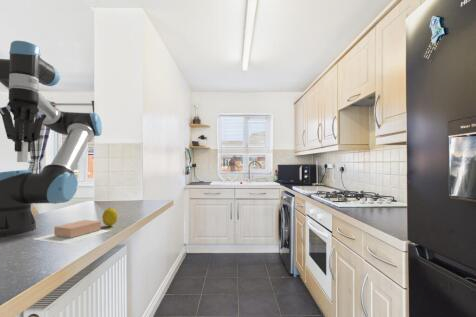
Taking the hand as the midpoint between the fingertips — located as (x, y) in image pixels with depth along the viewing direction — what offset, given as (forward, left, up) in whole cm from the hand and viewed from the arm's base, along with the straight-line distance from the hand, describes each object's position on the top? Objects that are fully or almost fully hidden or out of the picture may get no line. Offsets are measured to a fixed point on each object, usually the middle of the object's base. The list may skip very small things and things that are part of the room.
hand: (22, 161), depth 82 cm
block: (+7, +9, -24) cm, 27 cm away
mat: (+7, +13, -26) cm, 30 cm away
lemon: (+9, +27, -27) cm, 39 cm away
